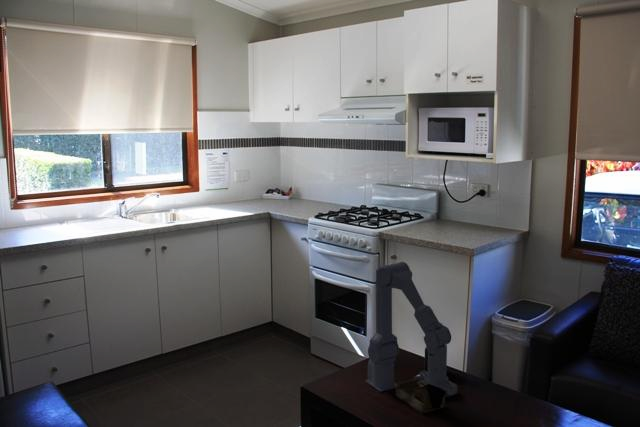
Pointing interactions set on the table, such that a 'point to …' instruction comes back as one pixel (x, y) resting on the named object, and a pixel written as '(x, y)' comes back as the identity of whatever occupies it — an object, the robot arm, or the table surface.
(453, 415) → the table surface
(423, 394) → the crate
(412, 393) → the bay
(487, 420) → the table surface
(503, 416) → the table surface
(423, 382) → the grey rectangular frame
